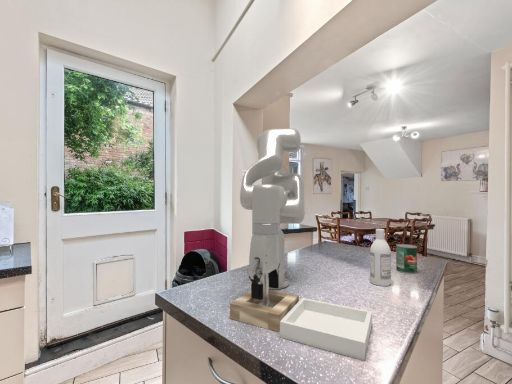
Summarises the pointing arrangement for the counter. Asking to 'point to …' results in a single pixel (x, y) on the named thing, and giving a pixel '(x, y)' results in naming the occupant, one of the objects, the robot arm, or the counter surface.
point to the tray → (329, 327)
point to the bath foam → (380, 260)
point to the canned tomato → (406, 258)
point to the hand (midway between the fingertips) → (265, 292)
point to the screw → (266, 292)
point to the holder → (263, 309)
